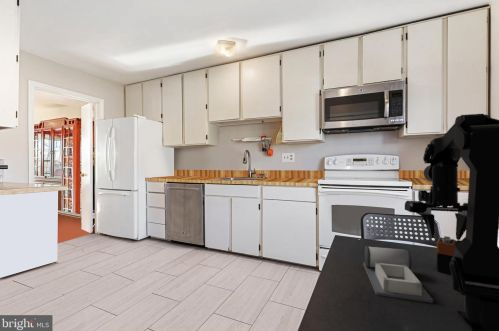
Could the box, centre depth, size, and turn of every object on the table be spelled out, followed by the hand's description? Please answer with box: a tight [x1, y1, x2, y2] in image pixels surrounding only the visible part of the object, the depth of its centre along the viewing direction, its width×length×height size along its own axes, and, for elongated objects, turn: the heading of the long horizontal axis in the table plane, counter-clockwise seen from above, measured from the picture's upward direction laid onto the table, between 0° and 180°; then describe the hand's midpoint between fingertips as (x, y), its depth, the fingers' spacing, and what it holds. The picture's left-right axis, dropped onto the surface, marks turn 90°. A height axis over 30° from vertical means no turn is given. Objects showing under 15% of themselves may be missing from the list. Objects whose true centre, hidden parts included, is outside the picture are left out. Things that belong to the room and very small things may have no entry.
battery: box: [436, 235, 457, 275], centre depth 76 cm, size 4×7×10 cm, turn 138°
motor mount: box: [362, 245, 434, 304], centre depth 69 cm, size 20×12×7 cm, turn 164°
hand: (445, 238), depth 70 cm, fingers open, 6 cm apart
